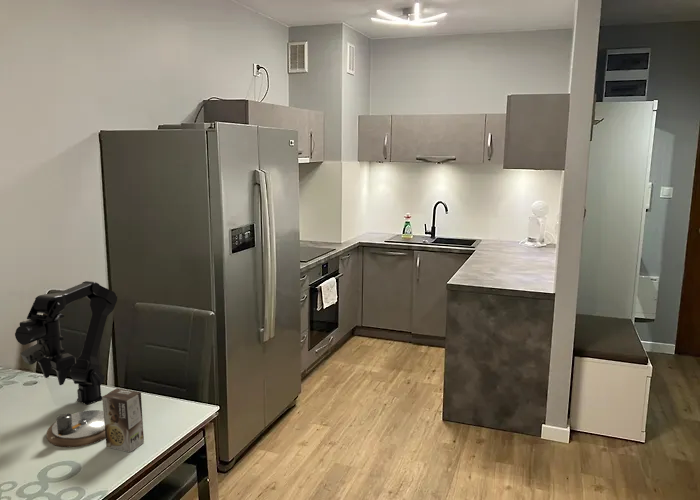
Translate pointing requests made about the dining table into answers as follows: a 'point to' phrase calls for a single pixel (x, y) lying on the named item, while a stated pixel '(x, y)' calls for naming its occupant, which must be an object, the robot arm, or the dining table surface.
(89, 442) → the dial base
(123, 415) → the coffee box
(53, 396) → the dining table surface
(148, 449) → the dining table surface
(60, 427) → the dial
